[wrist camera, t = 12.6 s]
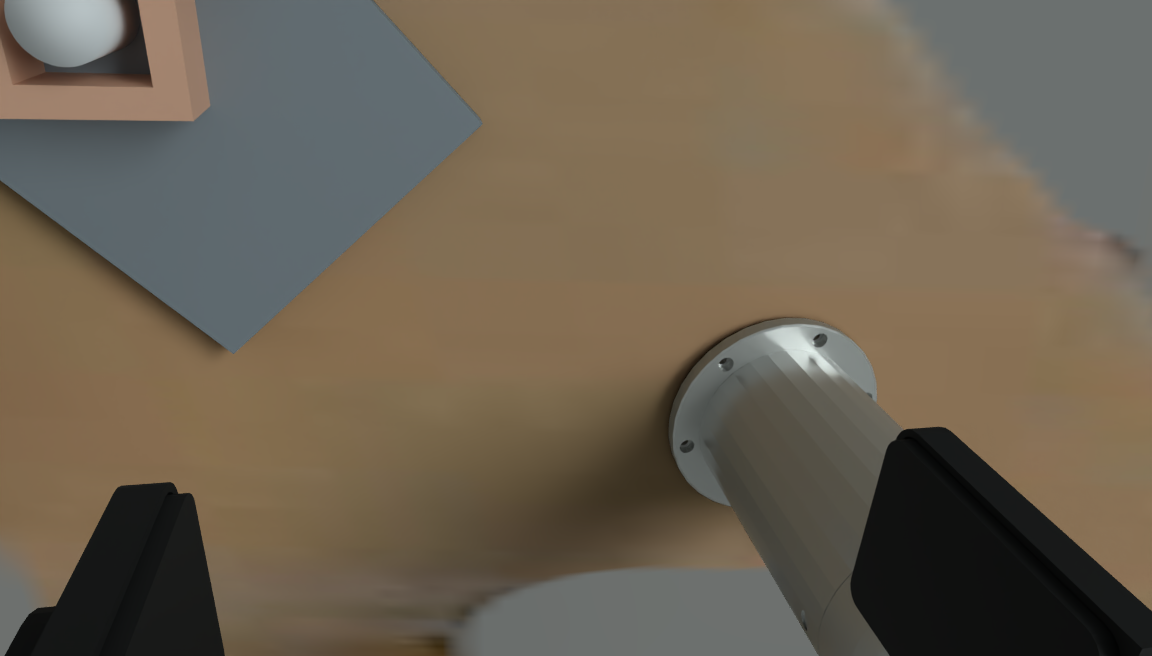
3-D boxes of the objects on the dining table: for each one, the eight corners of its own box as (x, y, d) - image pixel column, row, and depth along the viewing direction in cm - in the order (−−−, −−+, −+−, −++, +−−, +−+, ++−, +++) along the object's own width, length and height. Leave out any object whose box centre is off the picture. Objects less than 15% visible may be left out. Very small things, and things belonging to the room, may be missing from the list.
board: (480, 118, 36) (492, 145, 31) (238, 342, 38) (216, 397, 34) (129, -269, 27) (75, -310, 23) (-152, 48, 30) (-251, 68, 25)
